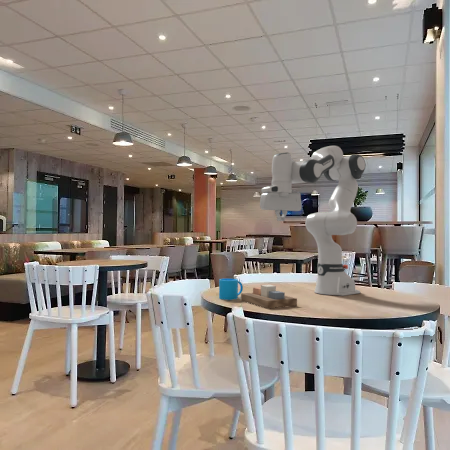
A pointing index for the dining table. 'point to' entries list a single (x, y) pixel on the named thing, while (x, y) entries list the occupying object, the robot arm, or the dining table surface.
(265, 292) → the cream cube
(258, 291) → the terracotta cube
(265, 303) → the wooden pallet
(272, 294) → the blue-grey cube
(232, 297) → the mug
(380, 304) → the dining table surface
